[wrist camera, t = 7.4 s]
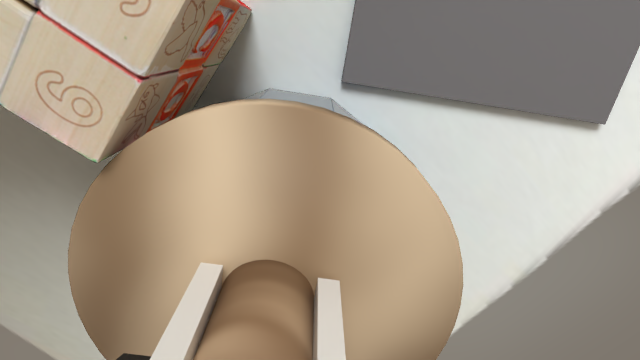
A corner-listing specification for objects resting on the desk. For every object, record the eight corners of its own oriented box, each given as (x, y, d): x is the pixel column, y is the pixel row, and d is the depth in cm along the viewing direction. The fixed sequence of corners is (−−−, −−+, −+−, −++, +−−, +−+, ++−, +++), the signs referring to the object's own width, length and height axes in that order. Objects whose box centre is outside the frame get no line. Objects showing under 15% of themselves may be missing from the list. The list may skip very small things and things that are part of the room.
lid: (97, 388, 17) (-74, 656, 9) (75, 64, 12) (-317, 108, 4) (402, 423, 17) (460, 694, 10) (503, 135, 12) (752, 269, 5)
